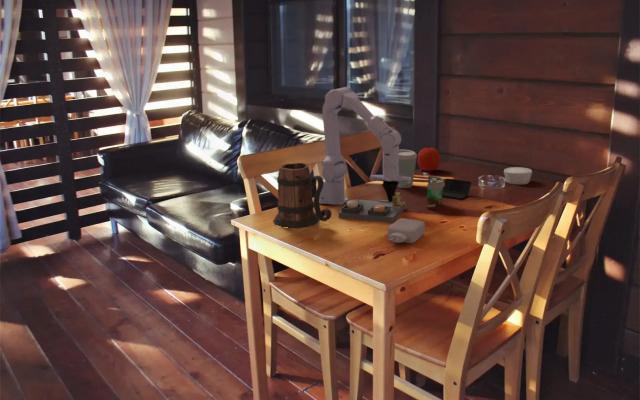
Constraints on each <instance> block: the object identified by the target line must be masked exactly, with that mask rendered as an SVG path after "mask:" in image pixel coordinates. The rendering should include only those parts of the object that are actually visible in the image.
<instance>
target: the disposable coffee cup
mask: <svg viewBox="0 0 640 400" xmlns="http://www.w3.org/2000/svg"><path fill="white" fill-rule="evenodd" d="M417 159H418V153H417V152H415V151H414V150H410V149H400V148H399V176H405V177H411V183H410V184H407V183H400V182H399V184H398V186H397V188H400V189H409V188H412V186H413V183H414V177H415V176H414V175H415V170H416V164H417Z"/></svg>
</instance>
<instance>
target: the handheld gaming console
mask: <svg viewBox="0 0 640 400" xmlns="http://www.w3.org/2000/svg"><path fill="white" fill-rule="evenodd" d="M444 183H445V186H444V187H443V191H442V198H445V199H451V200H458V201H463V200H464V199H466V198H468V196H469V193H470V190H471V186H472V181H468V180H461V179H460V180H459V179H453V178H446V179H445V180H444Z"/></svg>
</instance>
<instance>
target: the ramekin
mask: <svg viewBox="0 0 640 400" xmlns="http://www.w3.org/2000/svg"><path fill="white" fill-rule="evenodd" d="M503 174H504V179H506V180H505V182H506V183H507V184H510V185H517V186H519V185H521V186H522V185H527V184H529V183H530V181H531V177H532V174H533V170H532V169H531V168H528V167H521V166H514V167H513V166H512V167H507V168H504V170H503Z"/></svg>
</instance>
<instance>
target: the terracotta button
mask: <svg viewBox="0 0 640 400" xmlns="http://www.w3.org/2000/svg"><path fill="white" fill-rule="evenodd" d="M374 211H383V212H384V211H385V206H381V205H377V206H374Z"/></svg>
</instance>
